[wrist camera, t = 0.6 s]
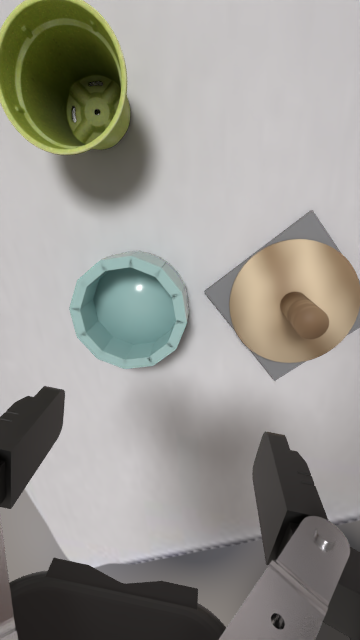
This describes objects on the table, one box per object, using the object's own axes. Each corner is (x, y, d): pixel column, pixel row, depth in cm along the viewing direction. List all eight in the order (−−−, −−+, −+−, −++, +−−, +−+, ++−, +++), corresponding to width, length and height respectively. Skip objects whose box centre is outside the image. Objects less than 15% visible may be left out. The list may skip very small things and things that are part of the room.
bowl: (142, 229, 34) (132, 231, 29) (208, 310, 36) (208, 325, 31) (68, 293, 36) (48, 305, 32) (133, 365, 39) (123, 387, 34)
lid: (312, 210, 31) (340, 210, 25) (381, 313, 34) (422, 337, 28) (204, 292, 35) (204, 310, 28) (274, 380, 37) (289, 415, 31)
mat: (310, 210, 32) (312, 210, 31) (378, 311, 35) (381, 313, 34) (204, 291, 35) (204, 292, 35) (273, 378, 38) (274, 380, 37)
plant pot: (58, 172, 33) (8, 159, 24) (40, 58, 30) (-23, 0, 22) (151, 165, 32) (133, 149, 24) (142, 47, 29) (117, -18, 21)
